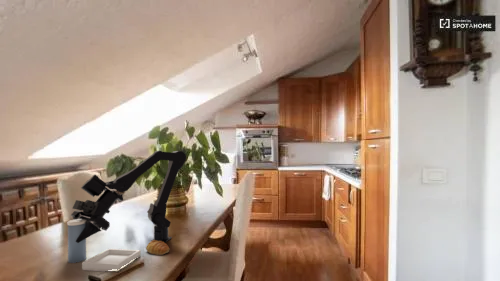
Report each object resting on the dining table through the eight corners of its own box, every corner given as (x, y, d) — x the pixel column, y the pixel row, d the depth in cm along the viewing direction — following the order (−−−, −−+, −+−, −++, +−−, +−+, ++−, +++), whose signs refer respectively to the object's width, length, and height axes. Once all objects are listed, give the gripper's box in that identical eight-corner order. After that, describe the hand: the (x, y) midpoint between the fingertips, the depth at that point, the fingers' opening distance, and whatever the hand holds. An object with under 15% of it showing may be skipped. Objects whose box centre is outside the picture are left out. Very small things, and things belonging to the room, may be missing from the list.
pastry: (174, 251, 109) (174, 241, 109) (159, 257, 104) (159, 247, 104) (158, 247, 115) (158, 237, 115) (143, 252, 109) (143, 242, 109)
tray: (108, 255, 107) (108, 248, 107) (140, 256, 104) (140, 250, 104) (82, 269, 94) (82, 262, 94) (117, 272, 91) (117, 264, 91)
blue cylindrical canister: (76, 255, 106) (76, 218, 106) (90, 256, 105) (90, 219, 105) (63, 262, 100) (62, 222, 100) (78, 263, 99) (77, 223, 99)
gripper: (76, 189, 112) (43, 224, 103) (101, 193, 101) (66, 232, 92) (97, 206, 118) (67, 240, 109) (122, 211, 107) (92, 250, 98)
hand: (72, 240), depth 102 cm, fingers closed on blue cylindrical canister, 6 cm apart
